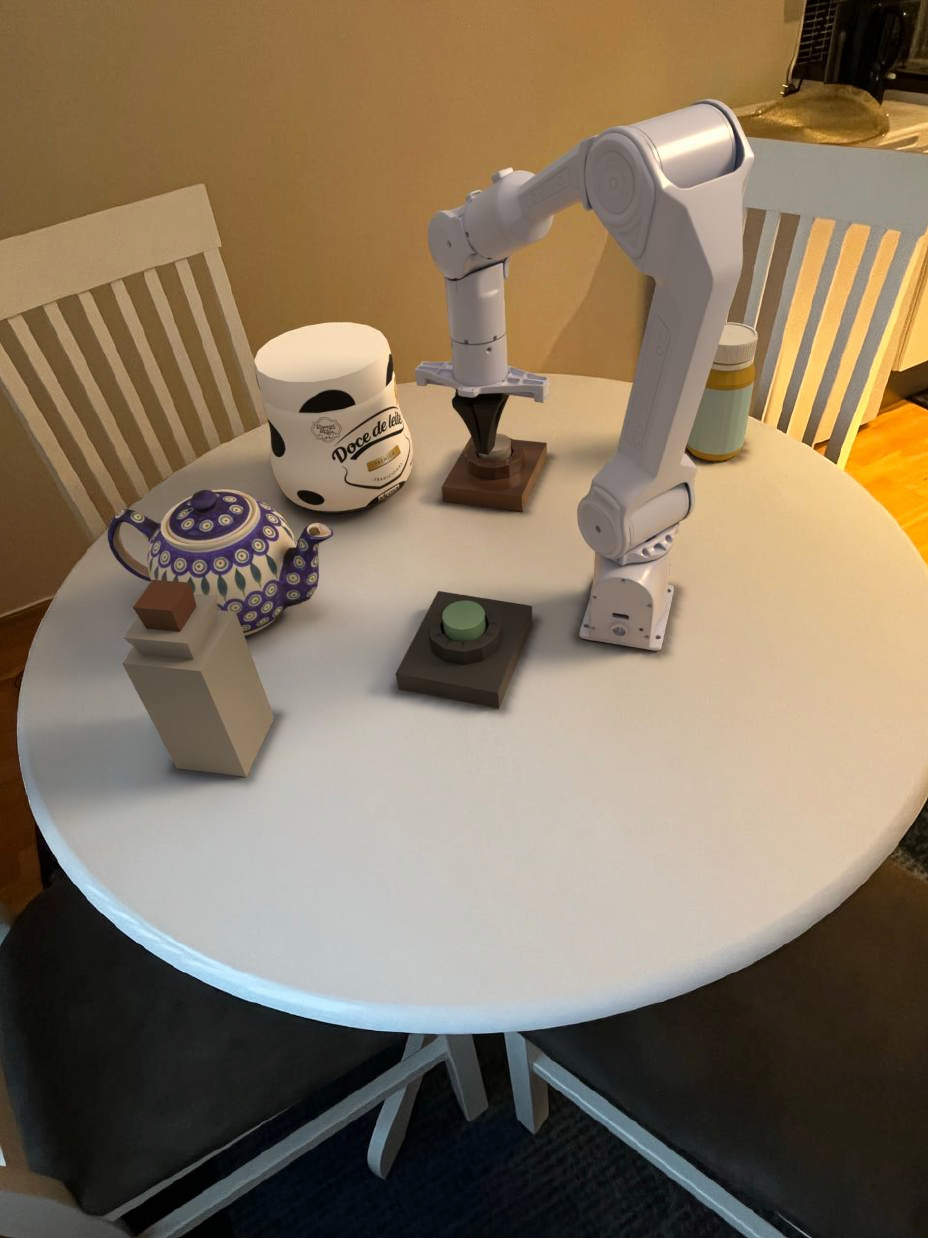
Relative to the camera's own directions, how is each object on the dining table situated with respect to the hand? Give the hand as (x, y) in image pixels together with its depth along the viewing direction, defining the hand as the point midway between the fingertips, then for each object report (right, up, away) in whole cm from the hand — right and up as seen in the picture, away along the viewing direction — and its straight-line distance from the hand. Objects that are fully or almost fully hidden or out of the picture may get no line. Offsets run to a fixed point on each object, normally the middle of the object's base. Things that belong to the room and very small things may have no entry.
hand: (485, 449), depth 93 cm
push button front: (-2, -22, -11) cm, 25 cm away
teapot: (-26, -18, -3) cm, 32 cm away
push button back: (+2, -2, +11) cm, 11 cm away
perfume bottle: (-24, -30, -17) cm, 42 cm away
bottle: (+29, +2, +12) cm, 31 cm away
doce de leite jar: (-17, -2, +13) cm, 21 cm away
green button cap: (-2, -20, -14) cm, 24 cm away
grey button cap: (+1, +1, +8) cm, 8 cm away
